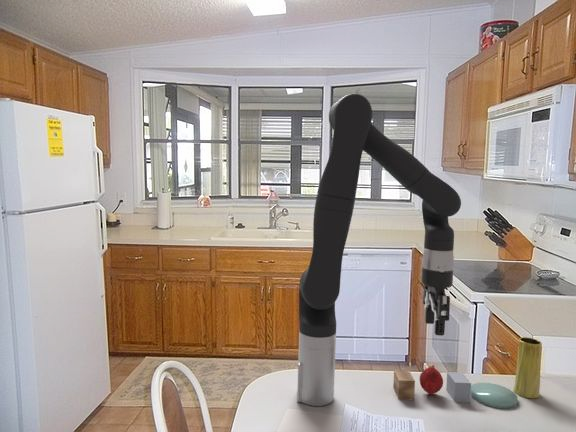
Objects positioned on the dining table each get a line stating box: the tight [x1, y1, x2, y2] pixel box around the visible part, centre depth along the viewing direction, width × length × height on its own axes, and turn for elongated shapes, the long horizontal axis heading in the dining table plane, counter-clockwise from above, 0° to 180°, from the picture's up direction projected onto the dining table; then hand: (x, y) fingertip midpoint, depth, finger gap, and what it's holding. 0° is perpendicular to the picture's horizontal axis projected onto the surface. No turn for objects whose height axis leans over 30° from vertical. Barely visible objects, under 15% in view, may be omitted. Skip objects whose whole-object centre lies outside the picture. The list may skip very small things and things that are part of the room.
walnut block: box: [392, 369, 416, 401], centre depth 113 cm, size 4×6×5 cm, turn 178°
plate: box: [470, 382, 518, 409], centre depth 113 cm, size 11×11×1 cm
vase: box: [513, 336, 543, 399], centre depth 115 cm, size 6×6×14 cm
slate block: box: [445, 371, 472, 403], centre depth 113 cm, size 4×6×5 cm, turn 178°
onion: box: [419, 363, 444, 396], centre depth 113 cm, size 6×6×8 cm
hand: (434, 328), depth 112 cm, fingers open, 8 cm apart
